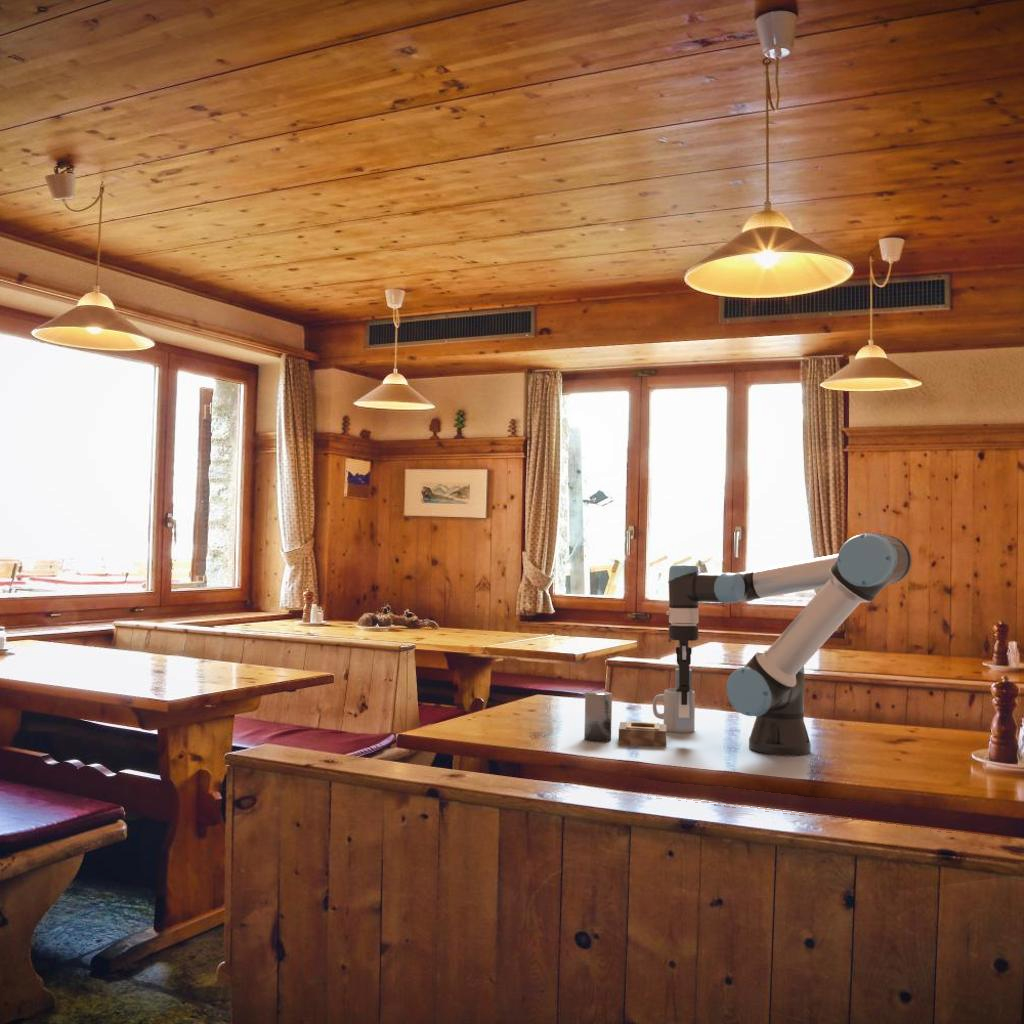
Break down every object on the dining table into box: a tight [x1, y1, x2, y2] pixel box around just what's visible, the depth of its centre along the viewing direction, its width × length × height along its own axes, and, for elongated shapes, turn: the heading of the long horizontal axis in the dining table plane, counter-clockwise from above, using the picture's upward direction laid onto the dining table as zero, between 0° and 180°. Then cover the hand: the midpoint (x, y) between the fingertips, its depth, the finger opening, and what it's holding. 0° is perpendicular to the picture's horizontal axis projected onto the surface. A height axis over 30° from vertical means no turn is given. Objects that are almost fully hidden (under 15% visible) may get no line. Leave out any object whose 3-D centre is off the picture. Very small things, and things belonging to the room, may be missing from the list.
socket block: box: [618, 720, 667, 748], centre depth 248 cm, size 12×10×4 cm
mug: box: [652, 688, 696, 734], centre depth 267 cm, size 12×8×11 cm
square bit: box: [675, 668, 693, 730], centre depth 245 cm, size 4×4×16 cm
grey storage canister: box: [583, 690, 613, 743], centre depth 250 cm, size 7×7×12 cm
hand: (683, 715), depth 245 cm, fingers closed on square bit, 4 cm apart
